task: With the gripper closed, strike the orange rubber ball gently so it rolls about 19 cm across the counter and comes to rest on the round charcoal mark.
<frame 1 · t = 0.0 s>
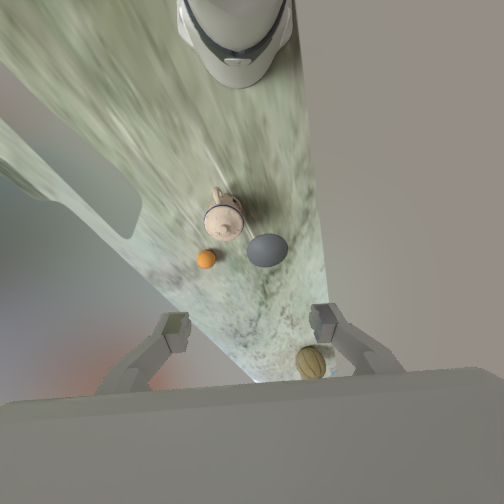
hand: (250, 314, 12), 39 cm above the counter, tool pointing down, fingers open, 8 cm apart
cantaloupe: (306, 348, 97), on the counter
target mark: (267, 251, 57), on the counter
ball: (206, 259, 54), on the counter
teacup with lid: (224, 204, 47), on the counter
medicine bottle: (299, 371, 115), on the counter
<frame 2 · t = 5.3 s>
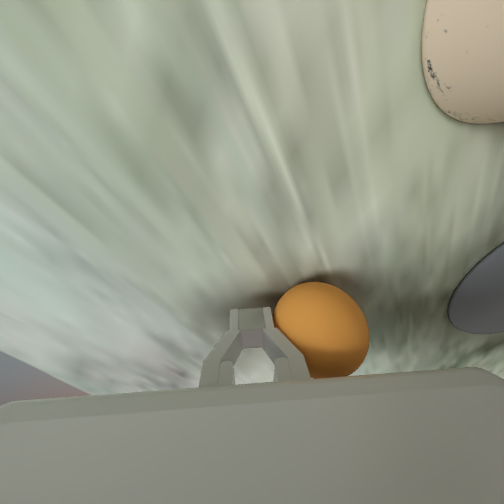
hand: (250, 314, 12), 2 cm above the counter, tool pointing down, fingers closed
ball: (316, 326, 11), on the counter, touching gripper
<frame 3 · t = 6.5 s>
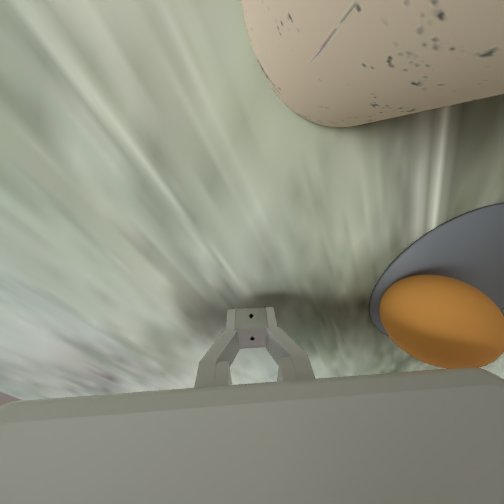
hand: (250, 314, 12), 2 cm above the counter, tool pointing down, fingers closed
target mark: (454, 285, 14), on the counter
ball: (432, 318, 11), on the counter
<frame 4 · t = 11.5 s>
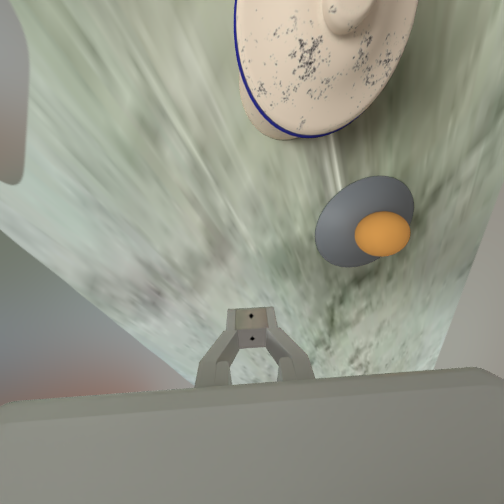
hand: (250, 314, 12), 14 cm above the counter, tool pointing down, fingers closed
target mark: (362, 227, 24), on the counter
ball: (380, 234, 22), on the counter
teacup with lid: (283, 64, 16), on the counter
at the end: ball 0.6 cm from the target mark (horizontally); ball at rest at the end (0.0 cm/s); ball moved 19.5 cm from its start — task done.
